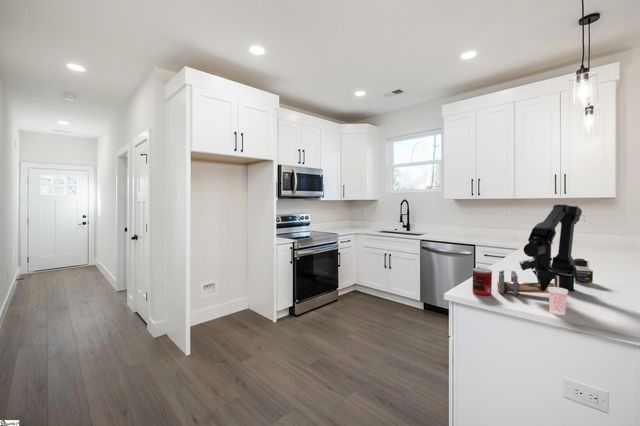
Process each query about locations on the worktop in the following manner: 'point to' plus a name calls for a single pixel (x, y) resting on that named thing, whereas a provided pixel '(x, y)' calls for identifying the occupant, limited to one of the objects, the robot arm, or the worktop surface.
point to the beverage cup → (557, 299)
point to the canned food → (482, 281)
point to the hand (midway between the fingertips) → (541, 289)
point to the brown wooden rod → (524, 287)
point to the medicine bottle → (583, 272)
